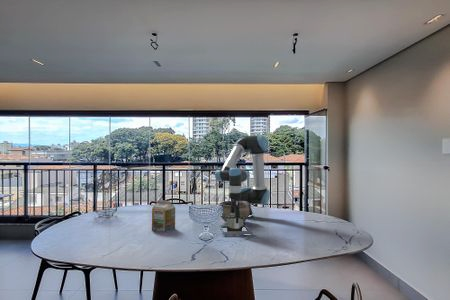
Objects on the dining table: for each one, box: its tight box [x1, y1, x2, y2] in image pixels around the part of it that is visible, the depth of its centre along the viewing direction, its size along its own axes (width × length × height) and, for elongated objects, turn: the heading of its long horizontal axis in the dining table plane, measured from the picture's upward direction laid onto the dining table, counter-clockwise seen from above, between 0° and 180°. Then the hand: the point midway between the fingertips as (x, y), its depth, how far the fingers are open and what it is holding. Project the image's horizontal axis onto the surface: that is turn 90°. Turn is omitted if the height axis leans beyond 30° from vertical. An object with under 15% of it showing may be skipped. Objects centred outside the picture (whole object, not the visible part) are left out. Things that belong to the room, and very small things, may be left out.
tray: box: [218, 224, 253, 236], centre depth 185 cm, size 18×18×2 cm
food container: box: [225, 214, 244, 232], centre depth 186 cm, size 12×6×10 cm, turn 86°
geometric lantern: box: [92, 171, 121, 219], centre depth 230 cm, size 16×16×35 cm
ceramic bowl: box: [218, 200, 249, 223], centre depth 210 cm, size 22×22×15 cm
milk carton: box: [151, 199, 176, 234], centre depth 190 cm, size 11×11×19 cm
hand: (234, 225), depth 185 cm, fingers open, 13 cm apart
